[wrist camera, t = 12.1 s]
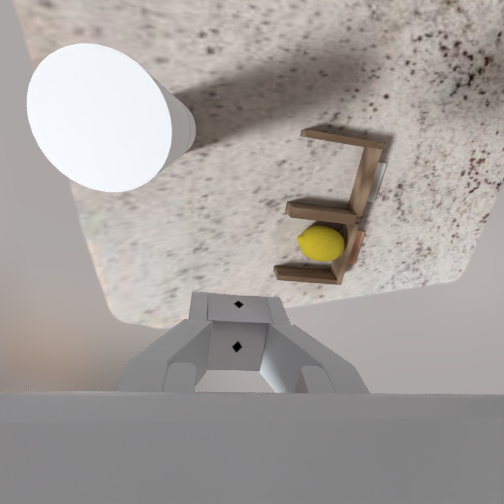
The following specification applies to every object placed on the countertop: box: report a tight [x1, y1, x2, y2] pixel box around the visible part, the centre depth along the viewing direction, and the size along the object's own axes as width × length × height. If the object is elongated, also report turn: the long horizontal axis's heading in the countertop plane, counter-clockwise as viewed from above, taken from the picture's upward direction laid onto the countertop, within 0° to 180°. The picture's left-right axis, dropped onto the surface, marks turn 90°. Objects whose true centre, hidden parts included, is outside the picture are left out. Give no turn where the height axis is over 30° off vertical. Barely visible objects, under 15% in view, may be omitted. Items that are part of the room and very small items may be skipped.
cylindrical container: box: [27, 44, 196, 192], centre depth 26 cm, size 7×7×25 cm
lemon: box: [297, 225, 345, 262], centre depth 44 cm, size 6×6×8 cm
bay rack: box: [274, 130, 387, 285], centre depth 44 cm, size 22×14×4 cm, turn 171°
